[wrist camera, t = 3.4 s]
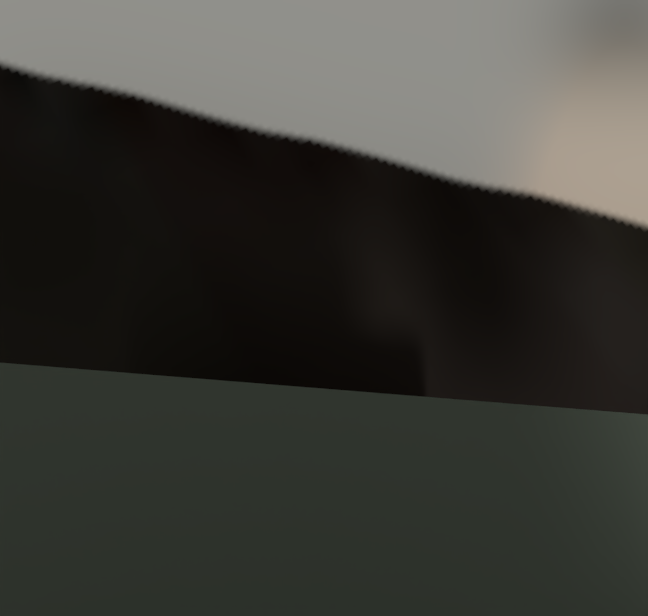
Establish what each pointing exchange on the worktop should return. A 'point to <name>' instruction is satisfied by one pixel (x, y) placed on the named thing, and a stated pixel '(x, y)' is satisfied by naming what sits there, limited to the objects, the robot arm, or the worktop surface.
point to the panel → (311, 501)
